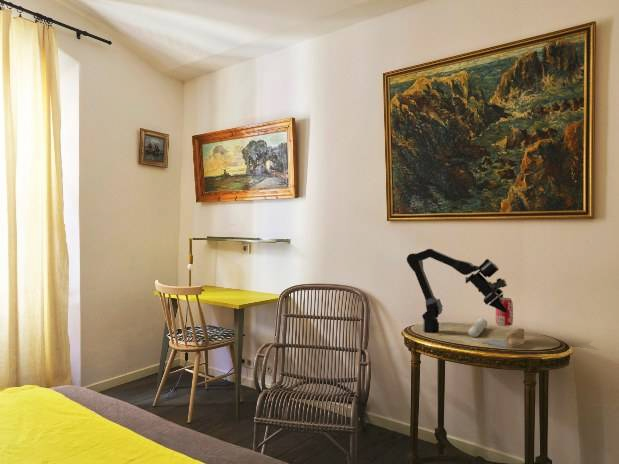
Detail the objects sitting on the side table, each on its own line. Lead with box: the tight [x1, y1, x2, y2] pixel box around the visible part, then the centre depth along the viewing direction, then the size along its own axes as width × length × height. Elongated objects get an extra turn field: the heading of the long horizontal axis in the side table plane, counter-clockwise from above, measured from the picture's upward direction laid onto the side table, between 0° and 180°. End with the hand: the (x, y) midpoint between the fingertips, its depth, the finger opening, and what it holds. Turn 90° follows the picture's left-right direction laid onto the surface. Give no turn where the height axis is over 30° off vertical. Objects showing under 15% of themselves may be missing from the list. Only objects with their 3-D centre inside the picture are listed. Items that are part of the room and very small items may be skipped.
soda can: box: [495, 297, 514, 328], centre depth 195 cm, size 7×7×12 cm
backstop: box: [505, 328, 525, 349], centre depth 186 cm, size 2×14×6 cm, turn 134°
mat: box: [482, 338, 507, 348], centre depth 189 cm, size 10×10×1 cm
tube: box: [468, 317, 488, 338], centre depth 211 cm, size 5×5×25 cm
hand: (507, 310), depth 194 cm, fingers closed on soda can, 7 cm apart
